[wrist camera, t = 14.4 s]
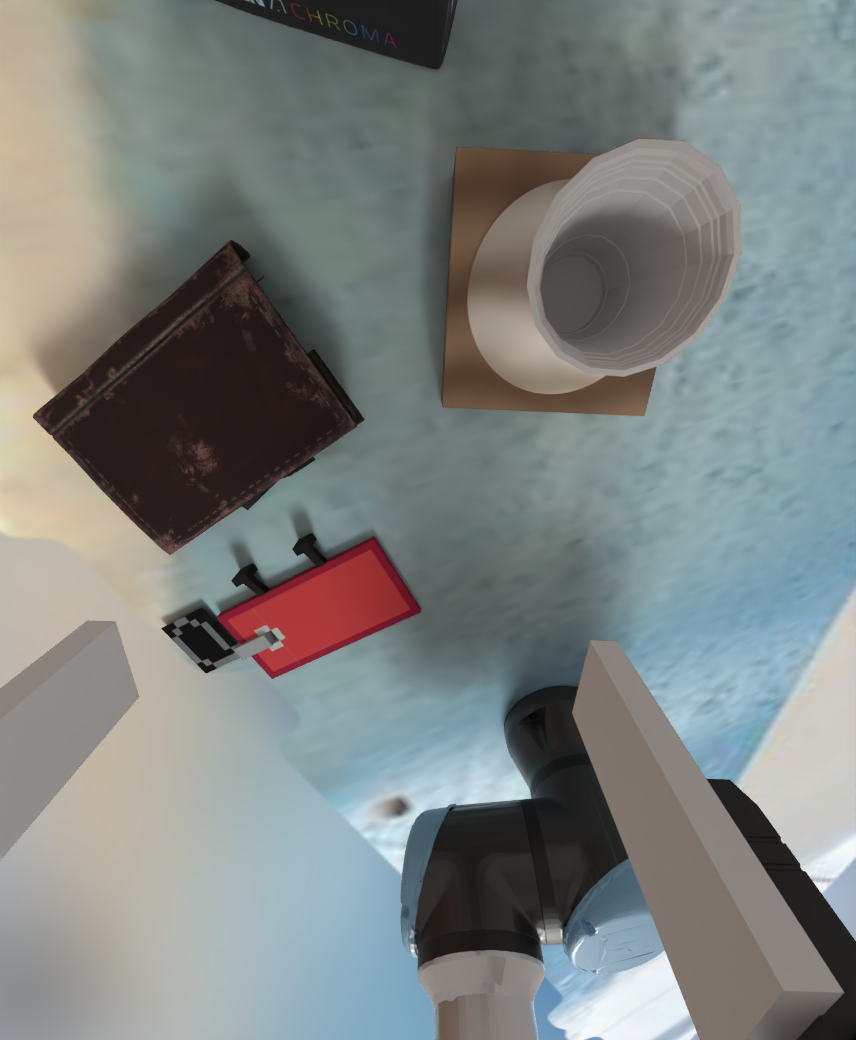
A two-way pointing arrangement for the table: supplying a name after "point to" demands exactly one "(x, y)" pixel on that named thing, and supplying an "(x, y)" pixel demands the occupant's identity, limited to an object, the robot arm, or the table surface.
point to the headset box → (368, 24)
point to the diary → (200, 406)
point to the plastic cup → (634, 257)
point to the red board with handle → (301, 611)
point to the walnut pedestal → (513, 294)
